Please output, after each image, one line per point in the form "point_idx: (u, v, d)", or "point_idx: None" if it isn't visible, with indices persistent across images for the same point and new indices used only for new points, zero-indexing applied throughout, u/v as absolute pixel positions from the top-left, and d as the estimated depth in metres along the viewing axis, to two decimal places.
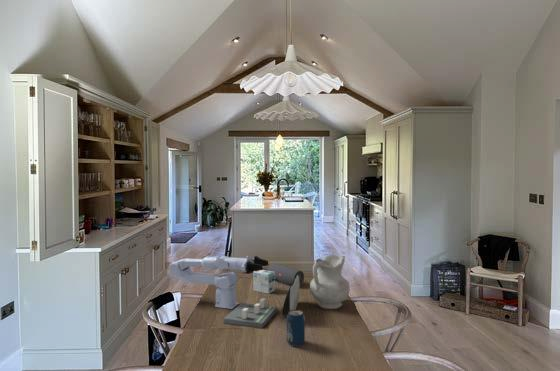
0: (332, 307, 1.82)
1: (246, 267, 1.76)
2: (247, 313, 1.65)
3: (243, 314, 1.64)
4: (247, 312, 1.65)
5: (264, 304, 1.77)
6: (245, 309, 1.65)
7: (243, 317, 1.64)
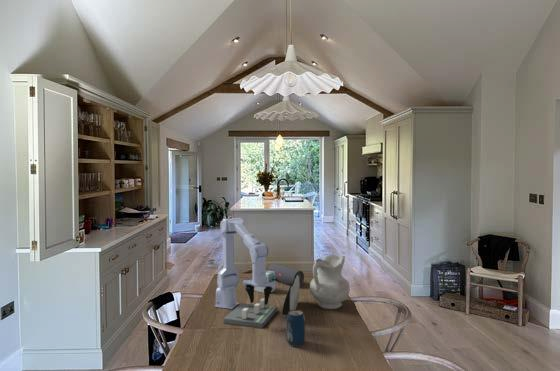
0: (332, 307, 1.82)
1: None
2: (247, 313, 1.65)
3: (243, 314, 1.64)
4: (247, 312, 1.65)
5: (264, 304, 1.77)
6: (245, 309, 1.65)
7: (243, 317, 1.64)
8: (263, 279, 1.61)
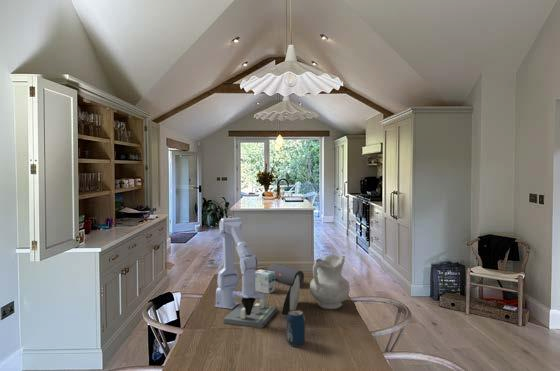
0: (332, 307, 1.82)
1: None
2: None
3: (242, 314, 1.64)
4: None
5: (264, 304, 1.77)
6: (244, 309, 1.65)
7: (242, 317, 1.64)
8: (253, 291, 1.63)
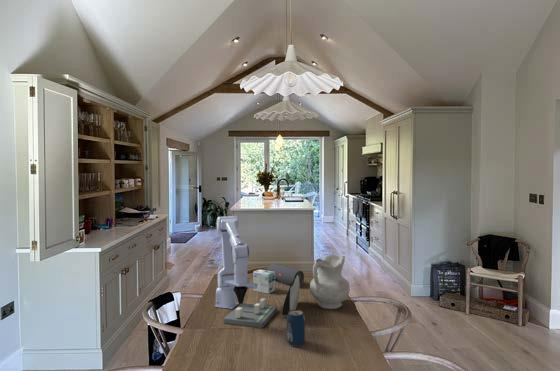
0: (332, 307, 1.82)
1: None
2: (241, 312, 1.66)
3: (237, 313, 1.65)
4: (240, 311, 1.66)
5: (264, 304, 1.77)
6: (239, 308, 1.66)
7: (237, 316, 1.65)
8: (245, 280, 1.64)
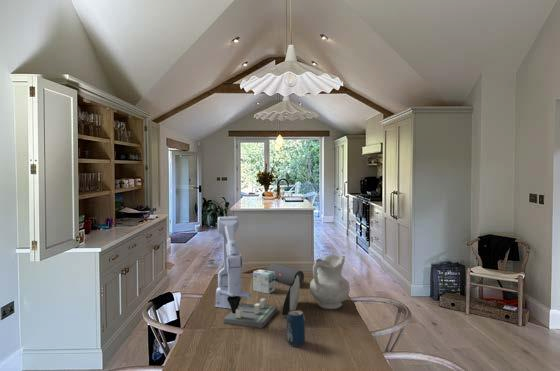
0: (332, 307, 1.82)
1: None
2: (241, 312, 1.66)
3: (237, 313, 1.65)
4: (241, 311, 1.66)
5: (264, 304, 1.77)
6: (239, 308, 1.66)
7: (237, 316, 1.65)
8: (238, 290, 1.65)
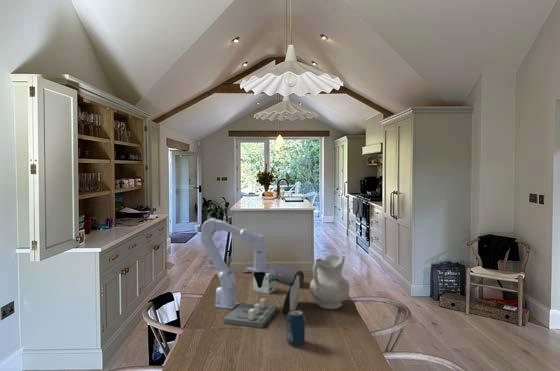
0: (332, 307, 1.82)
1: None
2: (254, 314, 1.64)
3: (250, 315, 1.63)
4: (253, 313, 1.64)
5: (264, 304, 1.77)
6: (252, 310, 1.64)
7: (250, 318, 1.63)
8: (263, 266, 1.83)
